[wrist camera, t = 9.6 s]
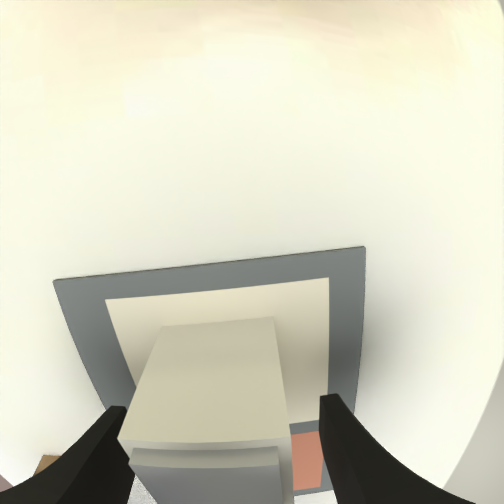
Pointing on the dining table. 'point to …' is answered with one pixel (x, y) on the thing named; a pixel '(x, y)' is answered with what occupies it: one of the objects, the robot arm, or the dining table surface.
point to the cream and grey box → (212, 417)
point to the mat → (229, 309)
